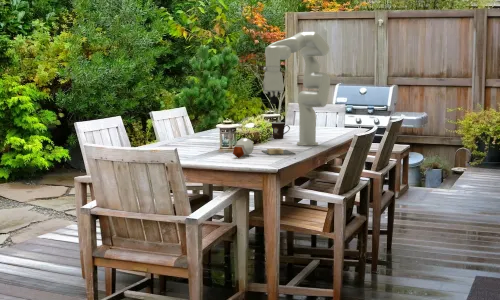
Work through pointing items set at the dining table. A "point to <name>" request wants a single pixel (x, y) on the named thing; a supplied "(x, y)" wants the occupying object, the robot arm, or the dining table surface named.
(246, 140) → the potion bottle
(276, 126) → the coffee mug
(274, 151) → the oak slab
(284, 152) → the mat
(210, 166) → the dining table surface
